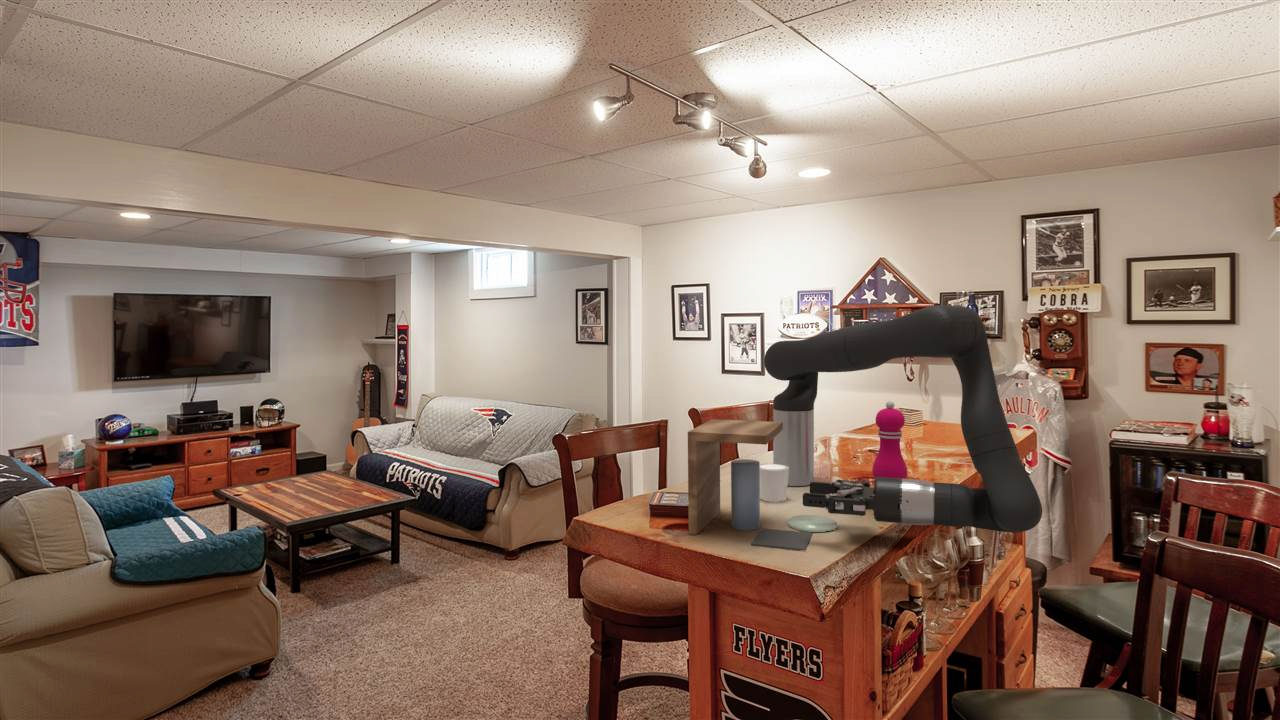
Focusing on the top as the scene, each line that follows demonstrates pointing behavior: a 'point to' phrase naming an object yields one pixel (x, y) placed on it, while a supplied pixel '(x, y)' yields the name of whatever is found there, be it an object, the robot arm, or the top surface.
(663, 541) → the top surface
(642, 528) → the top surface
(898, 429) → the pepper mill
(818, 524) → the coaster
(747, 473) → the blue pillar candle
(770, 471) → the white cup
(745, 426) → the shelf
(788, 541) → the drip mat
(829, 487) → the robot arm
